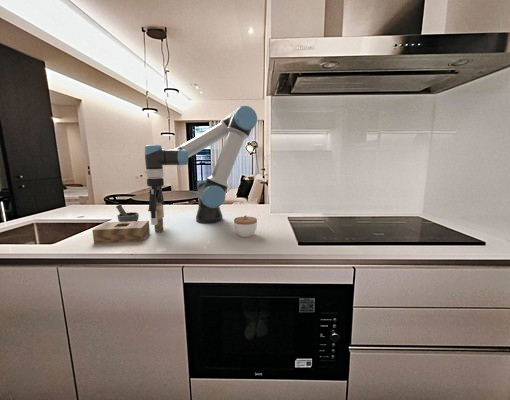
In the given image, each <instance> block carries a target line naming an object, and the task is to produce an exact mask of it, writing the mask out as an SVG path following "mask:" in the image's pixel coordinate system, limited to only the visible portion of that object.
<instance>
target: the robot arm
mask: <svg viewBox="0 0 510 400" xmlns="http://www.w3.org/2000/svg"><path fill="white" fill-rule="evenodd" d="M257 123H258V115H257V112H256V111H255V109H253V107H252V106H251V107H250V106H248V105H241V106H238V107H237V108H236V109H235V110H233V111H231V113H230V114H228V115H227V116H226V117H225V118H223V119H221V120H220V122H219V123H218V124H215V126H213V127H211V128H209V129H207V130H205V131H204V132H202V133H200V134H199V135H197V136H195V137H194V138H191V139H190V140H188V141H186V142H184V143H183V144H181V145H179V146H177V147H175V148H174V149H173V148H172V149H165V148H164V149H163V148H162V145H159V144H147V145H145V147H144V160H145V170H144V173H145V174H146V178H147V179H146V186H147V187H150V188H151V189H149V199H148V200H149V203H148V210H147V211H148V212H150V221H151V222H150V223H151V226H155V225H157V224H158V220H157V211H156V207H157V203H162V216H163V218H164V217H165V213H164V211H165V210H164V205H166V204H165V200H164V199H165V198H164V194H163V188H162V187H163V186H165V181H164V178H163V177H164V166H186V165H188V164H189V158H191V157H192V156H195V155H196V154H198V153H199V152H201V151H203V150H204V149H207V148H208V147H210V146H212V145H214V144H216V143H217V142H218V141H220V140H222V139H224V138H226V139H225V141H224V144H223V145H222V148H221V150H220V153H219V155H218V158H217V160H216V163H215V165H214V167H213V170H212V173H211V174H210V175H209V176H208V177H206V179H205V180H198V181H197V199H198V200H197V201H198V208H197V212H196V216H195V221H196V222H198V223H201V224H213V223H218V222H221V221H223V219H224V217H223V213H222V210H221V208H220V207H221V206H222V205H223V204H224V202H225V201H226V193H227V190H228V187H229V185H228V181H229V177H230V174H231V172H232V170H233V168H234V165H235V162H236V160H237V158H238V155H239V153H240V150H241V148H242V146H243V143H244V141H245V139H248V138H249V136H250V134H251V131H252V130H253V129H254V128H255V127H256V125H257Z"/></svg>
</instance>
